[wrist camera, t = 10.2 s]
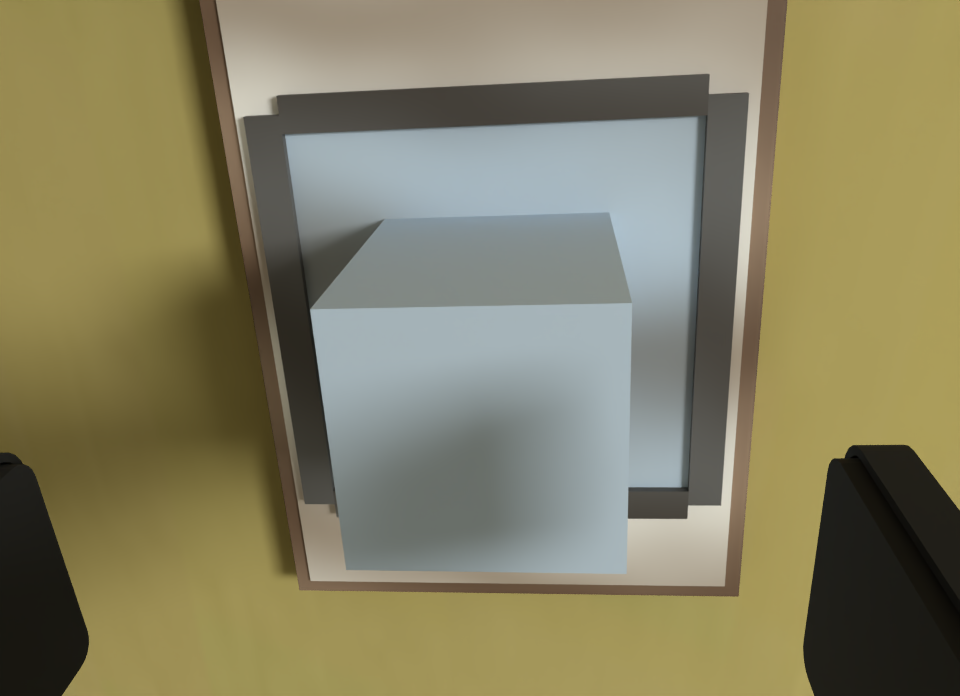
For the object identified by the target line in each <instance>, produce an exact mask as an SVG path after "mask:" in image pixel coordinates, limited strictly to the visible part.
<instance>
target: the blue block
mask: <svg viewBox="0 0 960 696" xmlns="http://www.w3.org/2000/svg"><path fill="white" fill-rule="evenodd" d="M310 312H311V320H312V327H313V334H314V341H315V348H316V356H317V363H318V370H319V377H320V385H321V392H322V399H323V406H324V413H325V421H326V428H327V435H328V442H329V449H330V457H331V464H332V471H333V478H334V486H335V493H336V500H337V507H338V514H339V522H340V529H341V536H342V543H343V550H344V558H345V565H346V570H377V571H449V572H520V573H592V574H627V530H628V482H629V434H630V386H631V338H632V300H631V296H630V292H629V289H628V285H627V281H626V277H625V273H624V269H623V265H622V261H621V257H620V253H619V249H618V245H617V241H616V237H615V233H614V229H613V225H612V222H611V218H610V214H609V212H603V213H570V214H537V215H504V216H471V217H438V218H405V219H384V221H383V222H382V223H381V224H380V225H379V227H378V228H377V229H376V230H375V231H374V233H373V234H372V235H371V236H370V238H369V239H368V240H367V241H366V242H365V244H364V245H363V246H362V247H361V248H360V250H359V251H358V252H357V253H356V254H355V256H354V257H353V258H352V259H351V260H350V262H349V263H348V264H347V265H346V267H345V268H344V269H343V270H342V271H341V273H340V274H339V275H338V276H337V277H336V279H335V280H334V281H333V282H332V283H331V285H330V286H329V287H328V288H327V290H326V291H325V292H324V293H323V294H322V296H321V297H320V298H319V299H318V300H317V302H316V303H315V304H314V305H313V306H312V308H311V309H310Z"/></svg>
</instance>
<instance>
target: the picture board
mask: <svg viewBox="0 0 960 696" xmlns="http://www.w3.org/2000/svg"><path fill="white" fill-rule="evenodd" d="M199 2H200V8H201V14H202V19H203V25H204V31H205V37H206V43H207V49H208V55H209V61H210V66H211V72H212V78H213V84H214V90H215V96H216V102H217V108H218V113H219V119H220V125H221V131H222V137H223V143H224V149H225V155H226V160H227V166H228V172H229V178H230V184H231V190H232V196H233V202H234V207H235V213H236V219H237V225H238V231H239V237H240V243H241V249H242V254H243V260H244V266H245V272H246V278H247V284H248V290H249V295H250V301H251V307H252V313H253V319H254V325H255V331H256V337H257V342H258V348H259V354H260V360H261V366H262V372H263V378H264V384H265V389H266V395H267V401H268V407H269V413H270V419H271V425H272V431H273V436H274V442H275V448H276V454H277V460H278V466H279V472H280V478H281V483H282V489H283V495H284V501H285V507H286V513H287V519H288V525H289V530H290V536H291V542H292V548H293V554H294V560H295V566H296V572H297V577H298V583H299V589H300V590H324V591H394V592H464V593H534V594H604V595H673V596H739V584H740V572H741V559H742V547H743V535H744V523H745V511H746V498H747V486H748V474H749V462H750V450H751V437H752V425H753V413H754V401H755V389H756V376H757V364H758V352H759V340H760V328H761V315H762V303H763V291H764V279H765V267H766V254H767V242H768V230H769V218H770V206H771V193H772V181H773V169H774V157H775V145H776V132H777V120H778V108H779V96H780V84H781V72H782V59H783V47H784V35H785V23H786V11H787V0H199ZM603 212H609V214H610V218H611V222H612V225H613V229H614V233H615V237H616V241H617V245H618V249H619V253H620V257H621V261H622V265H623V269H624V273H625V277H626V281H627V285H628V289H629V292H630V296H631V300H632V338H631V386H630V434H629V482H628V530H627V574H592V573H520V572H449V571H377V570H346V565H345V558H344V550H343V543H342V536H341V529H340V522H339V514H338V507H337V500H336V493H335V486H334V478H333V471H332V464H331V457H330V449H329V442H328V435H327V428H326V421H325V413H324V406H323V399H322V392H321V385H320V377H319V370H318V363H317V356H316V348H315V341H314V334H313V327H312V320H311V312H310V309H311V308H312V306H313V305H314V304H315V303H316V302H317V300H318V299H319V298H320V297H321V296H322V294H323V293H324V292H325V291H326V290H327V288H328V287H329V286H330V285H331V283H332V282H333V281H334V280H335V279H336V277H337V276H338V275H339V274H340V273H341V271H342V270H343V269H344V268H345V267H346V265H347V264H348V263H349V262H350V260H351V259H352V258H353V257H354V256H355V254H356V253H357V252H358V251H359V250H360V248H361V247H362V246H363V245H364V244H365V242H366V241H367V240H368V239H369V238H370V236H371V235H372V234H373V233H374V231H375V230H376V229H377V228H378V227H379V225H380V224H381V223H382V222H383V221H384V219H405V218H438V217H471V216H504V215H537V214H570V213H603Z"/></svg>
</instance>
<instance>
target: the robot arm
mask: <svg viewBox="0 0 960 696" xmlns="http://www.w3.org/2000/svg"><path fill="white" fill-rule="evenodd" d="M88 646H89V636H88V631H87V628H86V625H85V622H84V619H83V616H82V613H81V610H80V607H79V604H78V601H77V598H76V595H75V592H74V589H73V586H72V583H71V580H70V577H69V574H68V571H67V568H66V566H65V563H64V560H63V557H62V554H61V551H60V548H59V545H58V542H57V539H56V536H55V533H54V530H53V527H52V524H51V521H50V518H49V515H48V512H47V509H46V506H45V503H44V500H43V497H42V494H41V491H40V488H39V485H38V482H37V479H36V476H35V474H34V472H33V470H32V469H31V468H30V467H29V466H27V465H24V464H22V462H21V460H20V459H19V458H18V457H17V456H16V455H14V454H11V453H0V696H62V694H63V693H64V692H65V690H66V689H67V687H68V686H69V684H70V683H71V681H72V680H73V678H74V677H75V675H76V674H77V672H78V671H79V669H80V668H81V666H82V664H83V663H84V661H85V658H86V655H87V652H88ZM803 651H804V663H805V668H806V673H807V676H808V679H809V682H810V685H811V687H812V690H813V693H814V696H960V510H959V509H958V508H957V507H956V505H955V504H954V503H953V501H952V500H951V499H950V497H949V496H948V495H947V493H946V492H945V491H944V490H943V488H942V487H941V486H940V484H939V483H938V482H937V480H936V479H935V478H934V476H933V475H932V474H931V473H930V471H929V470H928V469H927V467H926V466H925V465H924V463H923V462H922V461H921V460H920V458H919V457H918V456H917V454H916V453H915V452H914V450H912V449H911V448H910V447H909V446H907V445H853V446H851V447H850V448H849V449H848V451H847V453H846V455H845V458H841V459H833V460H831V462H830V464H829V468H828V473H827V480H826V487H825V494H824V501H823V508H822V515H821V522H820V529H819V537H818V544H817V551H816V558H815V565H814V572H813V579H812V586H811V593H810V600H809V607H808V615H807V622H806V629H805V636H804V645H803Z"/></svg>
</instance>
